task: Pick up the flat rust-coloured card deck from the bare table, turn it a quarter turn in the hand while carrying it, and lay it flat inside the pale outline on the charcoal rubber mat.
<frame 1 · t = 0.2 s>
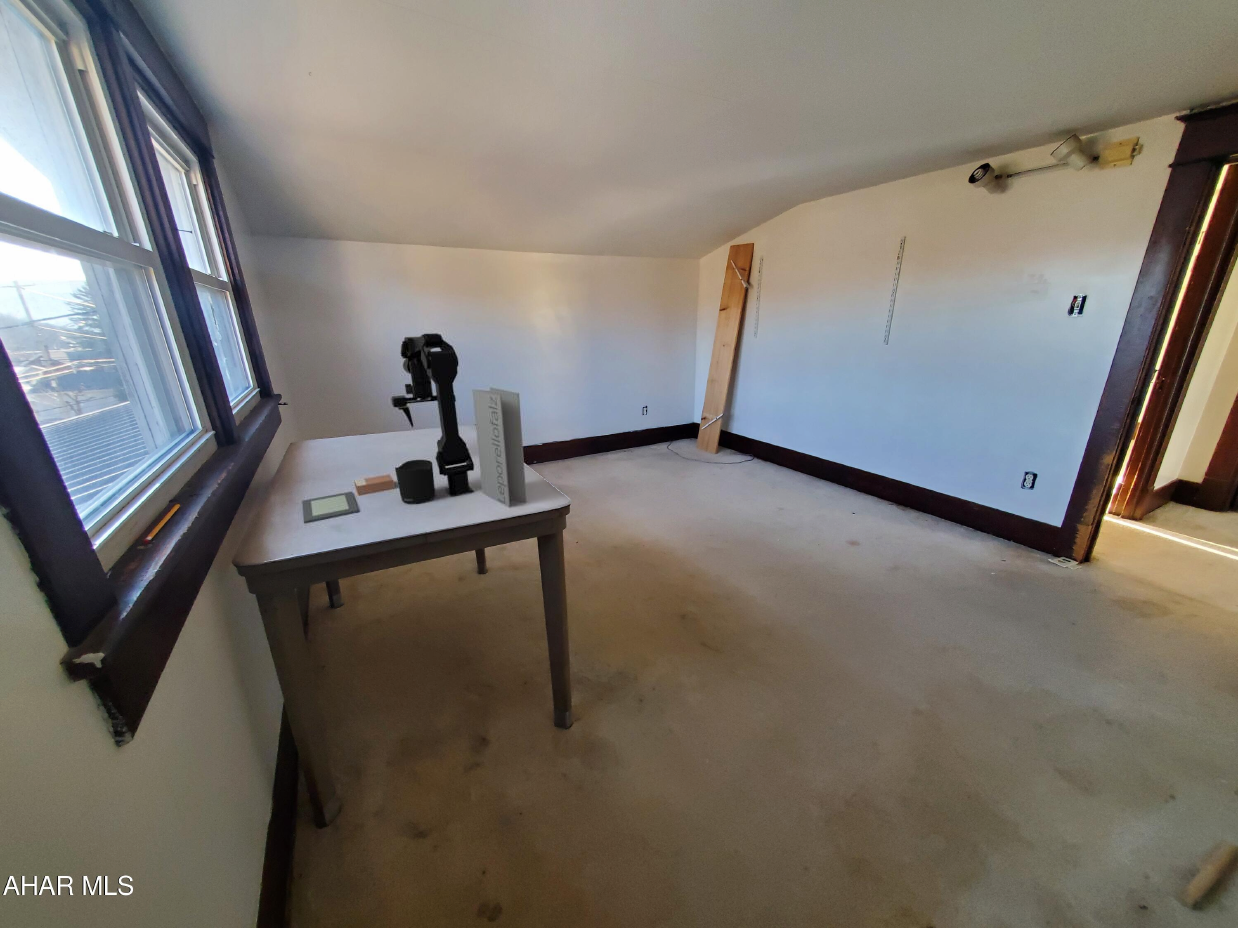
hand: (427, 425, 151), 14 cm above the table, fingers open, 9 cm apart
brochure: (504, 498, 129), on the table
mat: (330, 507, 123), on the table
deck: (375, 490, 136), on the table
pen holder: (418, 499, 129), on the table
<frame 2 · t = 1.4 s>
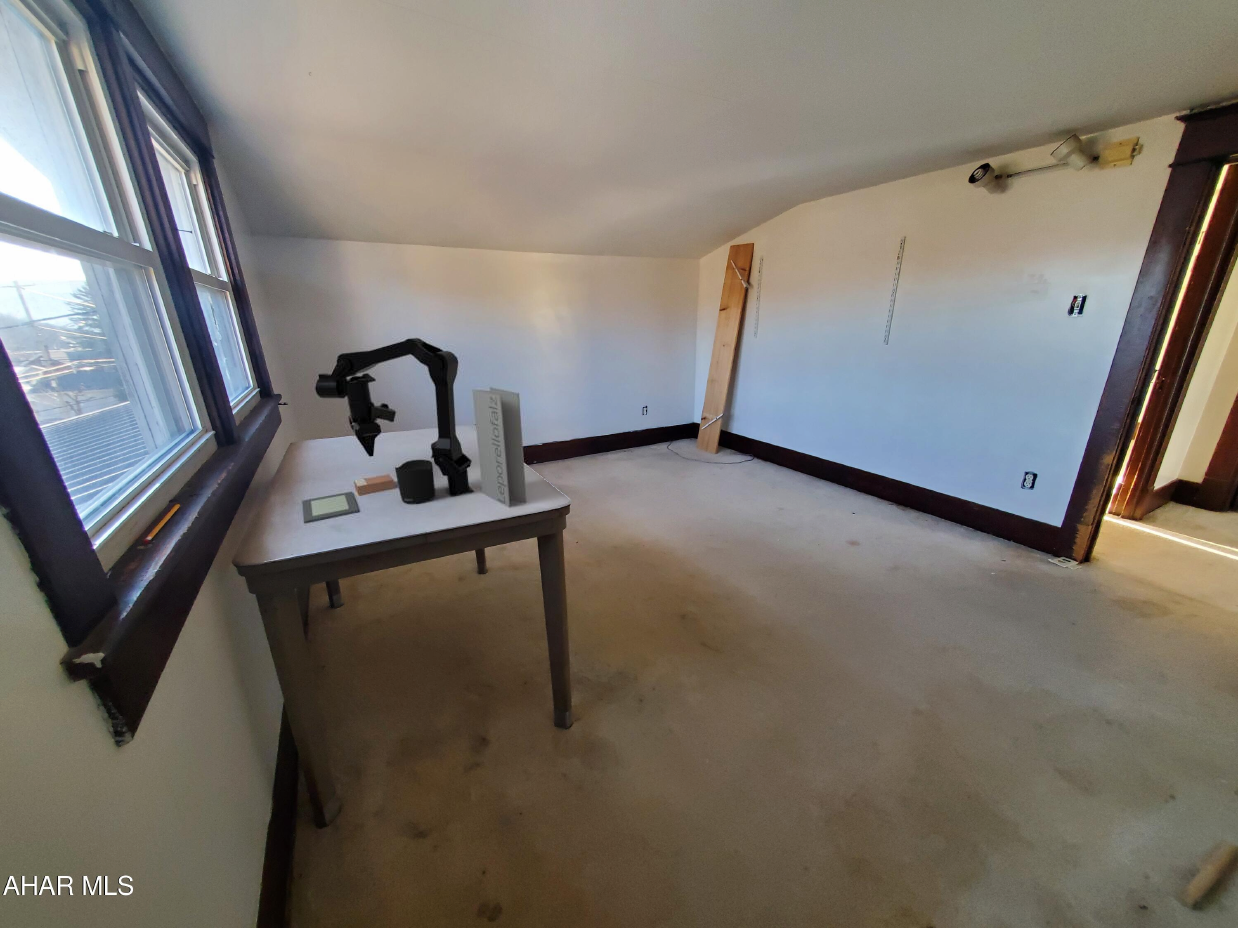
hand: (369, 452, 132), 11 cm above the table, fingers open, 9 cm apart
nothing on the table moved.
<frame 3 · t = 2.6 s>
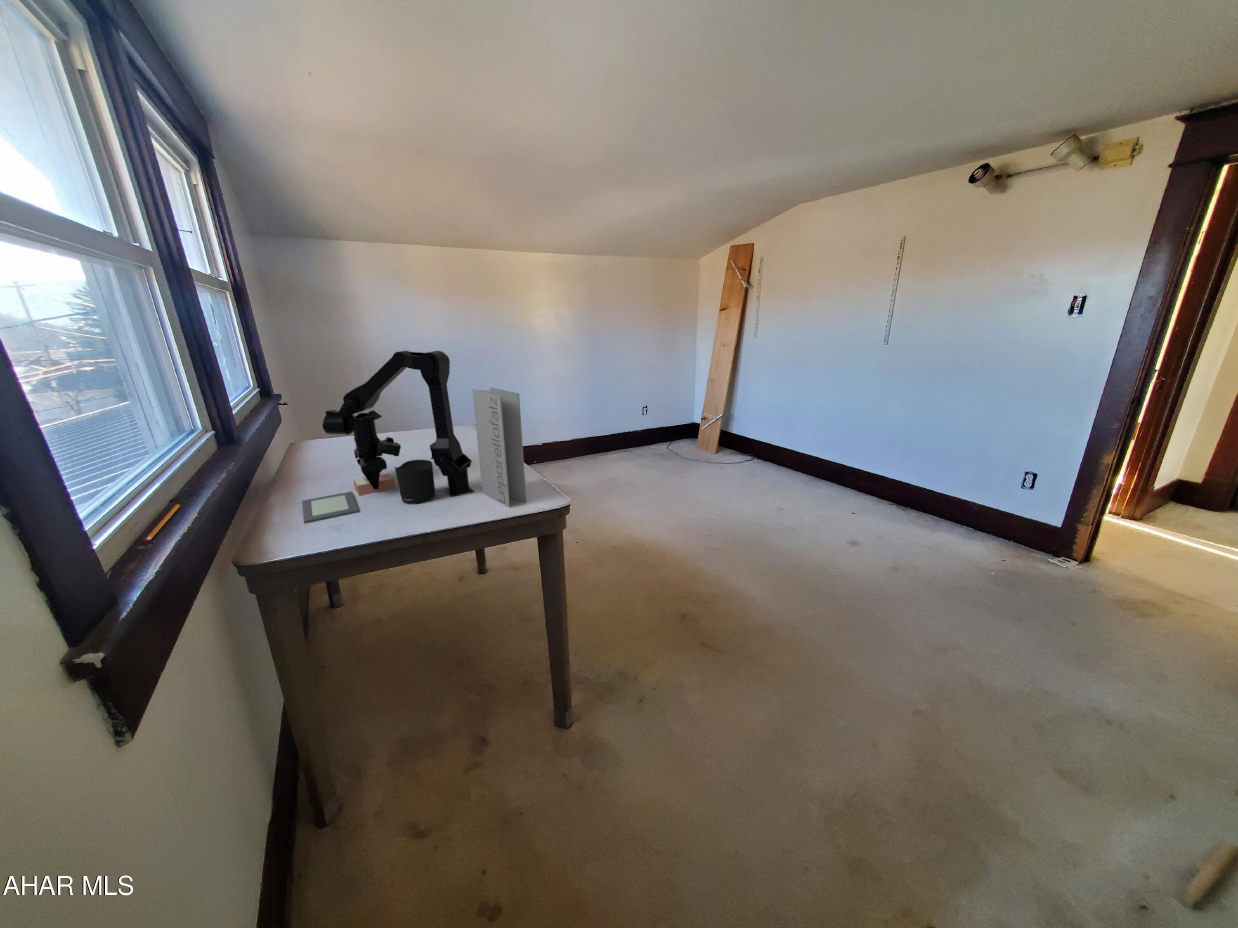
hand: (374, 485, 135), 1 cm above the table, fingers closed on deck, 6 cm apart
deck: (375, 489, 136), on the table, touching gripper
everything else where it was.
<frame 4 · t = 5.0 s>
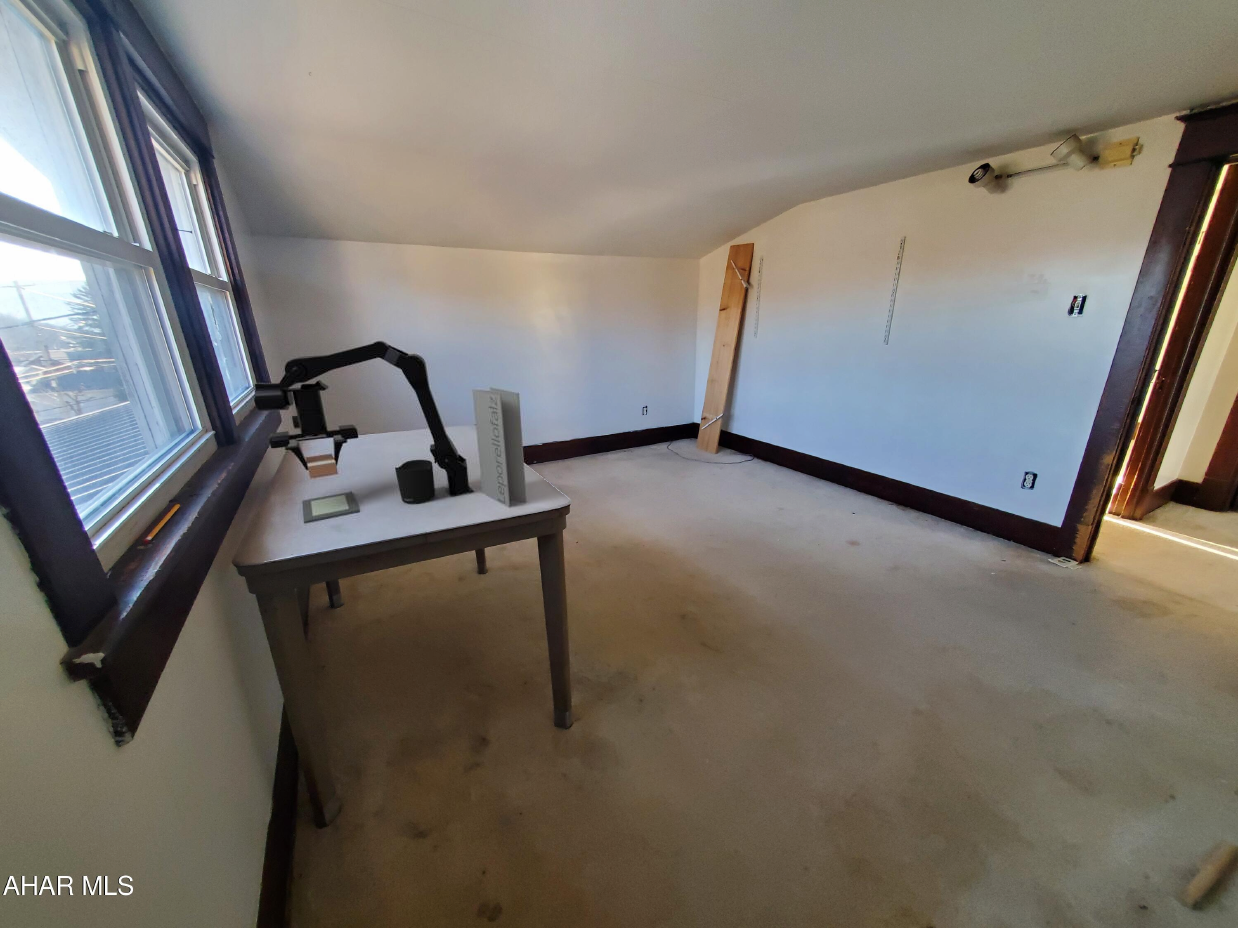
hand: (322, 467, 120), 11 cm above the table, fingers closed on deck, 6 cm apart
deck: (322, 471, 120), point 10 cm above the table, touching gripper
everything else where it was.
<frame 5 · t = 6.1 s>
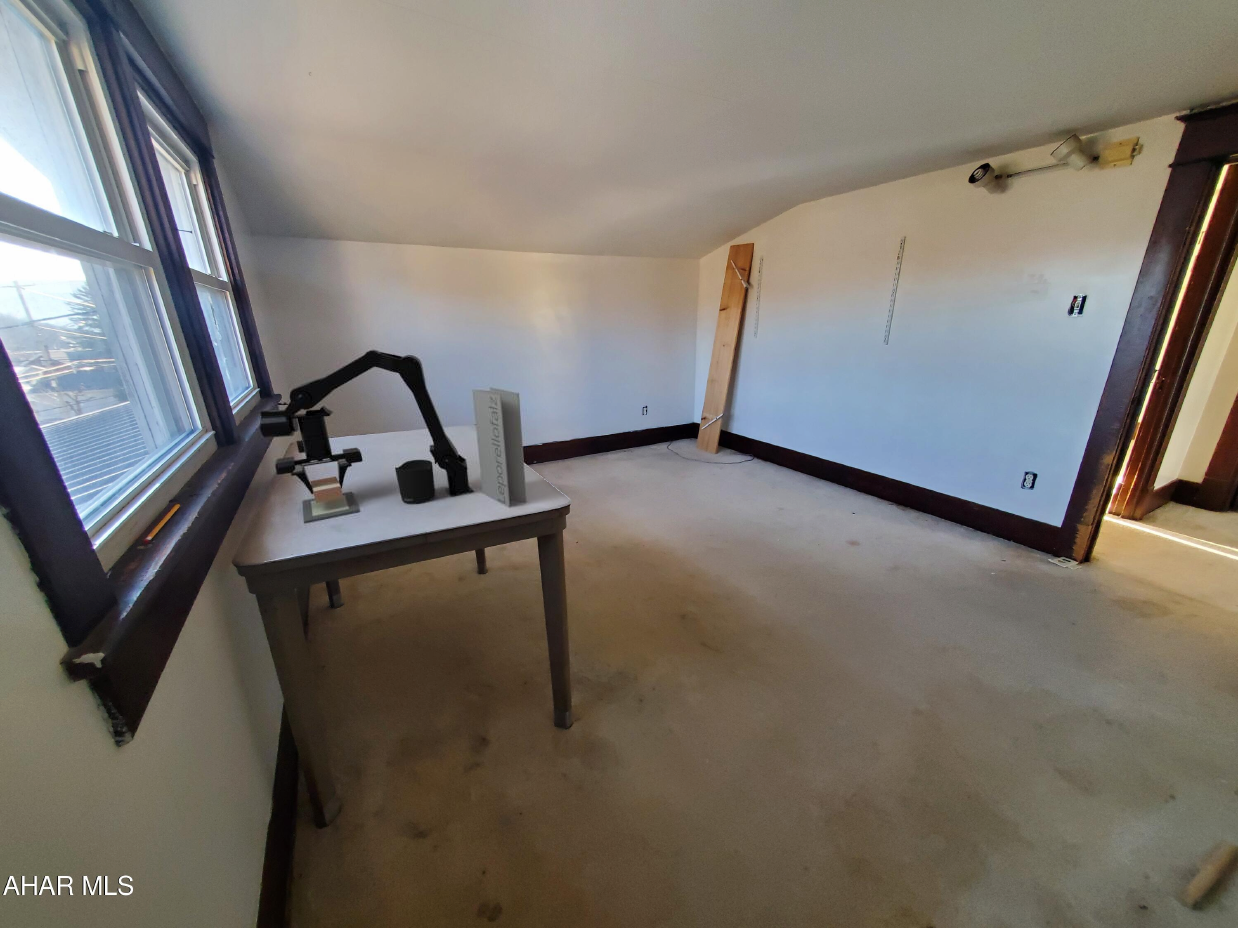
hand: (326, 491, 122), 5 cm above the table, fingers closed on deck, 6 cm apart
deck: (327, 494, 122), point 4 cm above the table, touching gripper
everything else where it was.
when the fingers open (3 cm above the table, at t = 6.9 s): deck drops 1 cm, resting on mat.
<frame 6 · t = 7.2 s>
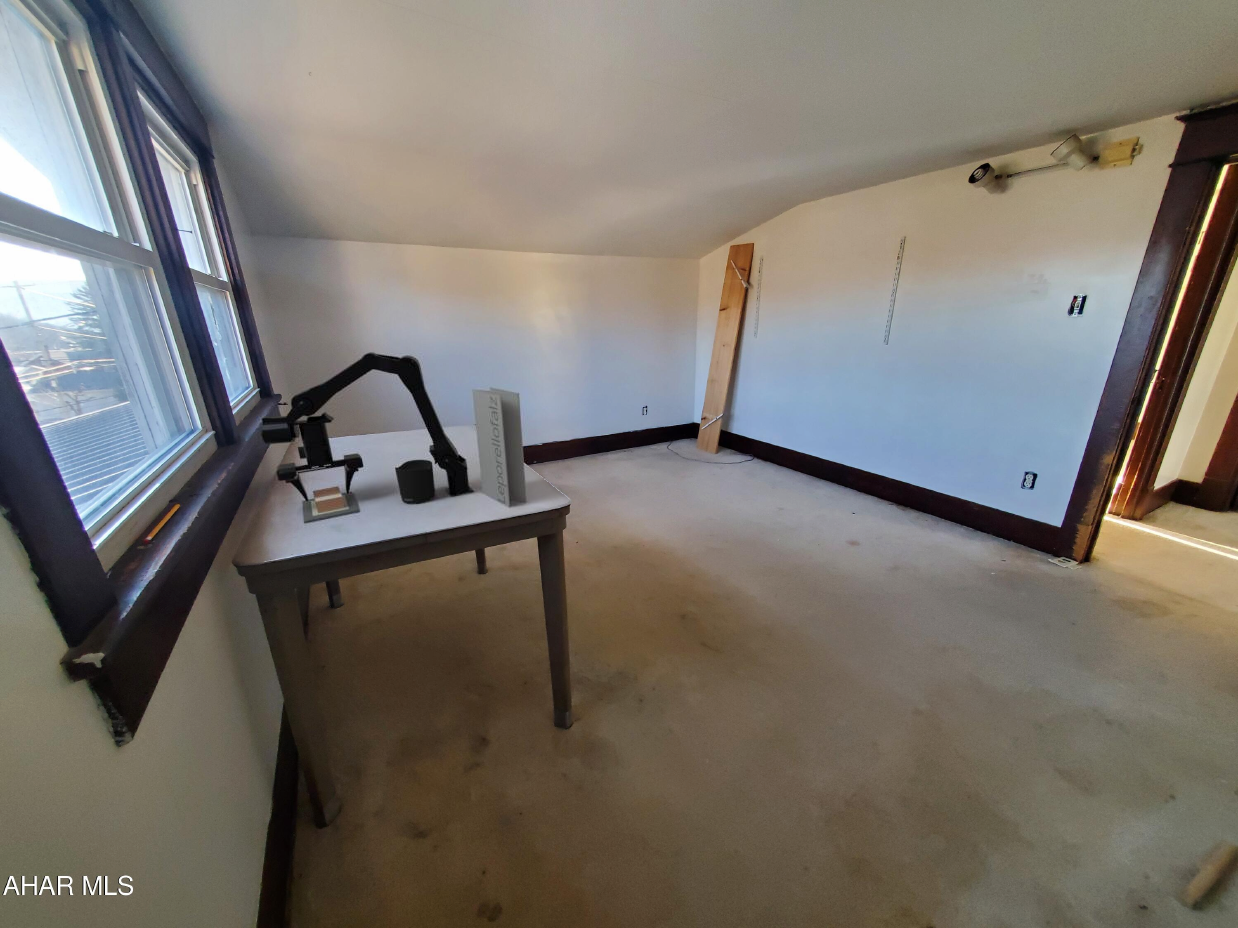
hand: (327, 496, 122), 3 cm above the table, fingers open, 9 cm apart
deck: (329, 504, 123), point 1 cm above the table, touching mat
everything else where it was.
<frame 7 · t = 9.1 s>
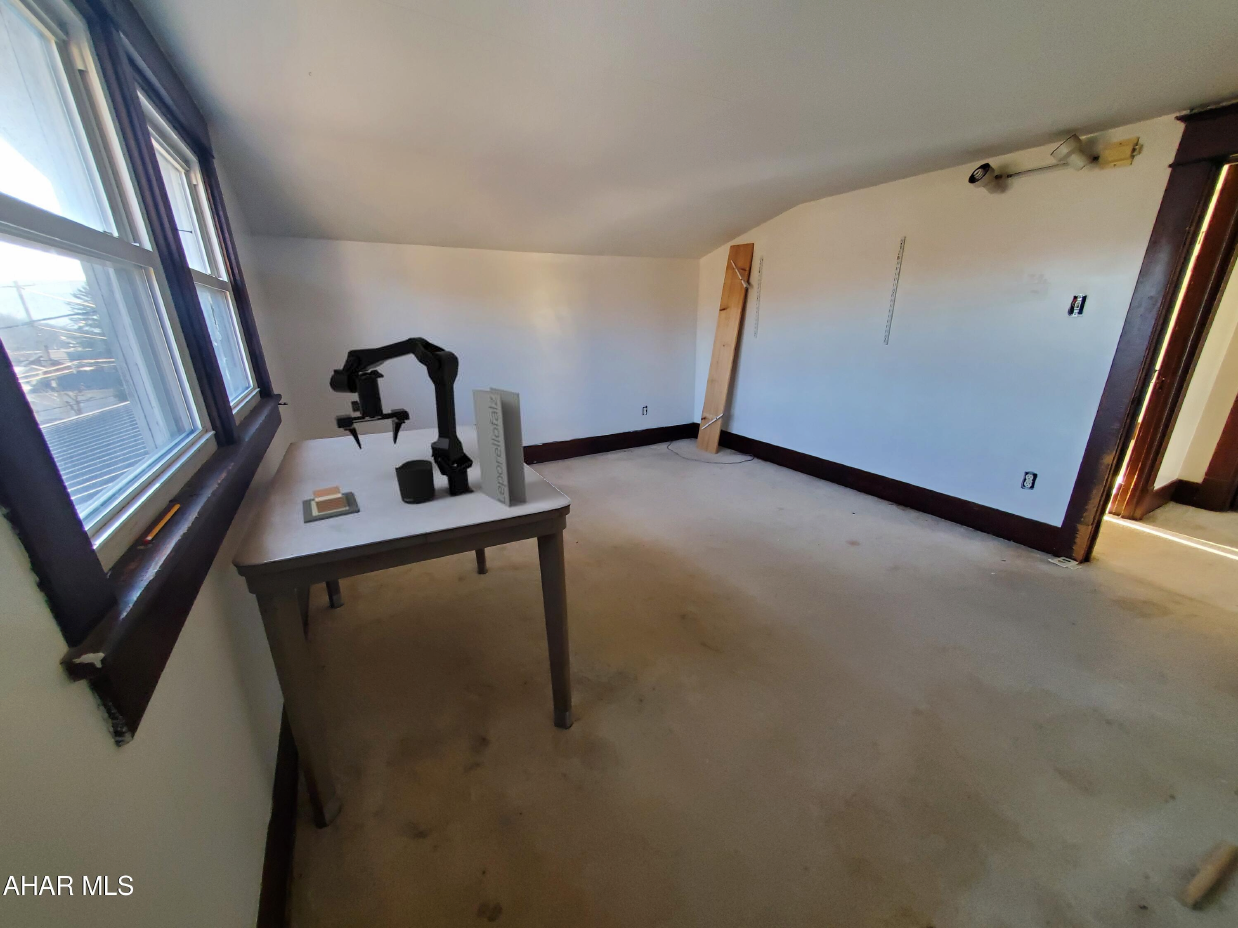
hand: (378, 446, 136), 12 cm above the table, fingers open, 9 cm apart
nothing on the table moved.
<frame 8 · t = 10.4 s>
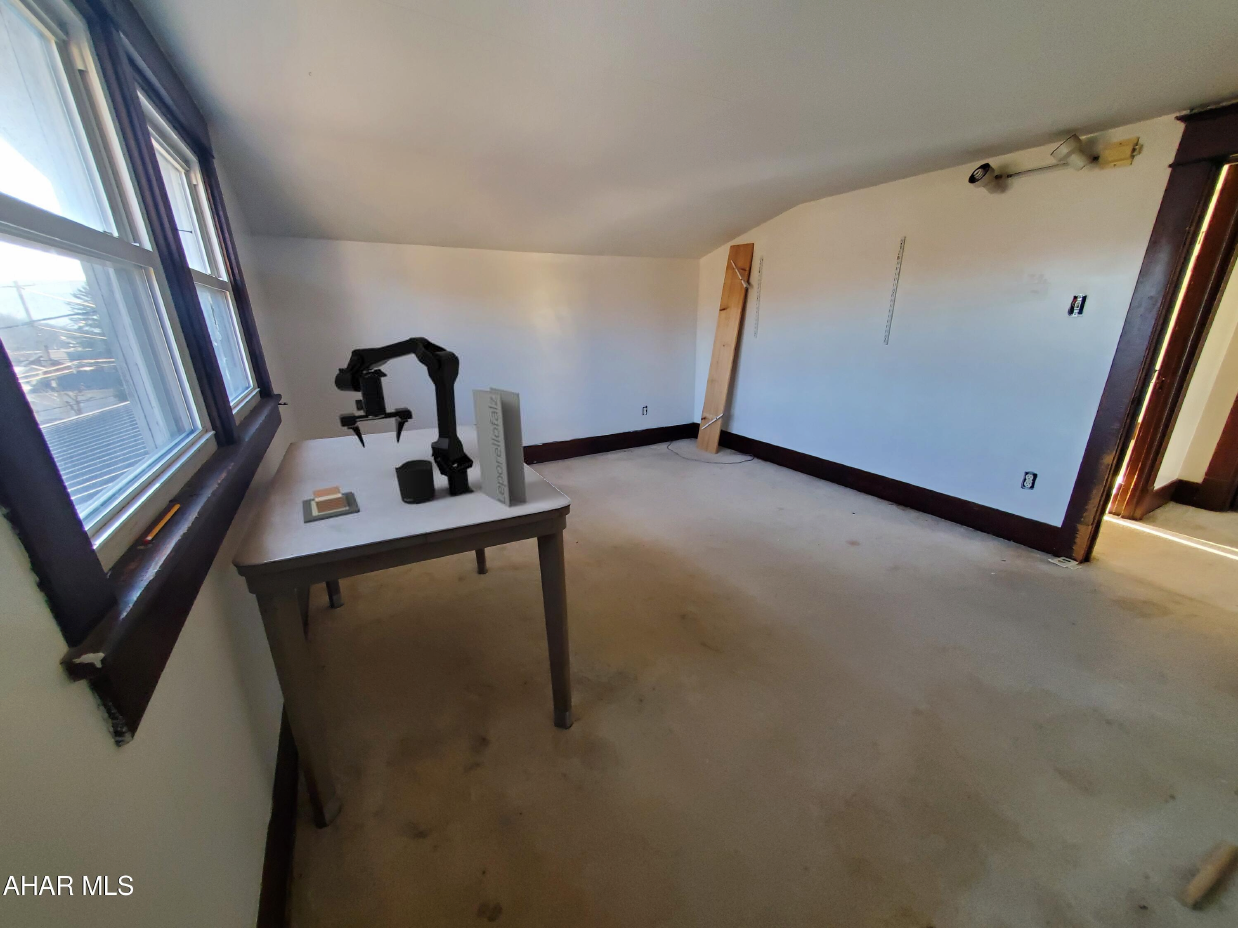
hand: (381, 444, 137), 12 cm above the table, fingers open, 9 cm apart
nothing on the table moved.
at the end: deck inside the target area on the mat (0.0 cm from its centre), point 0.7 cm above the mat's base; deck tilted 0°; the gripper is holding nothing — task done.
